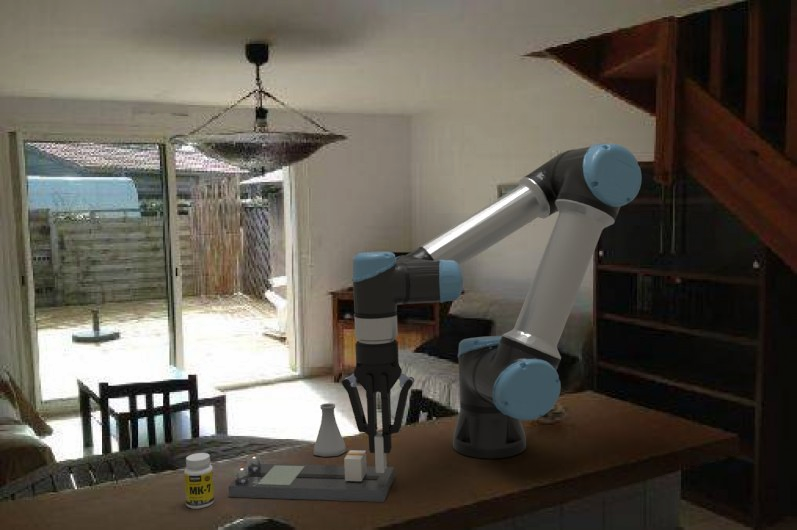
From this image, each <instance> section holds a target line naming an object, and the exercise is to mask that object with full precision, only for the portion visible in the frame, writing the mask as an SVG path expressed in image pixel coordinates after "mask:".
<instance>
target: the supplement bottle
mask: <svg viewBox="0 0 797 530" xmlns="http://www.w3.org/2000/svg"><path fill="white" fill-rule="evenodd" d="M185 463H186V464H185V465H186V468H185V469H184V488H185V489H184V490H185V492H184V493H185V505H186V506H187V507H188V508H189V509H190V508H191V509H194V510H195V509H197V510H198V509H203V508H206V507H209V506H211V505H213V503H214V502H215V488H214V486H215V485H214V469H213V466H212V465H211V456H210V454H209V453H206V452H198V453H197V452H196V453H192V454H189V455H188V456H186V458H185Z"/></svg>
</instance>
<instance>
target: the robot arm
mask: <svg viewBox="0 0 797 530" xmlns="http://www.w3.org/2000/svg"><path fill="white" fill-rule="evenodd" d="M642 180H643V179H642V170H641V166H639V163H638V160H637V158H636V156H635V155H634V153H633V152H632V151H630V150H629V149H628V148H627V147H625V146H623V145H621V144H617V143H603V142H602V143H596V144H594V145H592V146H587V147H582V148H581V147H580V148H576V149H575V148H574V149H573V148H572V149H569V150H566V151H564V152H561V153H559V154H557V155H555V156H553V157H552V158H551V159H549V160H548V161H546V162H545V163H542V165H540V166H539V167H537V168H536V169H535V170H532V171H531V172H530V173H528V174H526V175H525V176H523V177H522V178H521V179H520V180H519V181H518V182H519V183H518V186H516V187H515V188H513V189H512V190H510V191H508V192H506V193H505V194H503V195H502V196H501V197H499V198H497V199H496V200H493V201H492V202H491V203H489V204H487V205H486V206H484V207H482V208H481V209H479V210H478V211H475V212H474V213H473V214H471V215H470V216H468V217H466V218H464V219H463V220H461V221H459V222H458V223H456V224H454V225H453V226H452V227H450V228H448V229H446V230H445V231H443V232H442V233H440V234H438V235H437V236H435V237H434V238H432V239H430V240H429V241H427V242H425V243H423V244H422V245H420V247H418V248H416V249H413V250H412V251H410V252H409V253H407V254H405V255H399V256H396V254H395V253H394V252H391V251H370V252H369V251H367V252H359V253H357V254H356V255H354V257H353V261H352V287H353V288H352V289H353V305H354V307H353V309H354V337H355V339H356V340H357V341H356V342H355V344H354V345H355V367H354V369H353V373H352V374H351V375H349V376H346V377H345V378H344V379H343V380H342V381H341V385H342V386H343V388H344V389H345V391H346V392H347V395H348V399H349V403H350V406H351V410H352V413H353V416H354V419H355V424H356V427H357V431H358V432H359V433H365V434H367V436H368V450H369V453H370V454H374V458H375V459H374V461H375V462H374V463H375V467H376V473H384V472H385V470H386V468H387V467H388V466H387V465H388V464H387V454H390V453H391V450H392V449H393V447H392V444H393V443H392V434H397V433H399V431H400V430H401V428H402V424H403V421H404V420H403V418H404V415H405V410H406V405H407V401H408V397H409V391H410V389H411V388H412V386H413V384H414V382H415V378H414V377H413V376H408V375H406V374H405V373H403V371H402V367H401V366H400V363H399V342H398V341H397V339H396V338H397V337H399V336H398V335H399V332H398V308H397V307H398V305H406V304H407V305H408V304H409V305H410V304H425V303H426V304H428V303H429V304H430V303H441V304H443V303H444V302H445V303H446V302H450V301H452V302H453V301H456V300H458V299H459V298H460V296H461V294H462V292H463V283H464V280H463V277H464V276H463V272H462V268H461V266H463V265H464V264H465V263H467V262H469V261H470V260H472V259H473V258H475V257H477V256H478V255H480V254H481V253H483V252H484V251H486V250H488V249H490V248H492V247H493V246H494V245H495V244H498V243H499V242H501V241H502V240H504V239H506V238H507V237H509V236H510V235H512V234H513V233H515V232H517V231H518V230H520V229H521V228H523V227H524V226H526V225H528V224H529V223H531V222H533V221H534V220H536V219H538V218H539V219H546V218H548V217H550V216H552V215H554V214H555V213H558V215H557V218H556V220H555V223H554V226H553V228H552V231H551V233H550V235H549V239H548V241H547V244H546V246H545V248H544V250H543V254H542V257H541V259H540V262H539V264H538V267H537V269H536V271H535V274H534V277H533V279H532V282H531V284H530V287H529V290H528V292H527V294H526V297H525V299H524V302H523V304H522V307H521V308H520V309H521V310H520V312H519V314H518V316H517V320H516V322H515V325H514V327H513V329H511V330H510V331H507V332H505V333H503V334H502V335H491V336H478V337H470V338H464V339H462V340H461V341H460V342H459V343H458V353H457V359H458V377H459V379H458V381H459V406H460V407H459V409H460V410H459V413H458V416H457V420H456V424H455V426H454V431H453V434H452V446H453V447H452V448H453V449H454V450H455V451H456V452H457V453H458V454H462V455H463V456H467V457H470V458H479V459H503V458H509V457H510V458H511V457H513V456H517V455H519V454H521V453H522V452H524V451H525V450H526V449H527V436H526V433H525V430H524V426H523V424H522V421H533V420H536V419H539V418H541V417H543V416H545V415H546V414H547V413H549V412H550V411H551V410H553V409H552V408H554V406H555V405H556V404H557V402H558V400H559V398H560V394H561V390H562V389H561V388H562V387H561V380H560V378H559V377H560V375H559V374H558V372H557V370H558V367H559V365H560V363H561V359H562V356H561V354H560V352H559V350H558V344H559V341H560V340H561V336H562V334H563V331H564V329H565V326H566V323H567V321H568V318H569V316H570V313H571V311H572V308H573V306H574V303H575V301H576V298H577V295H578V293H579V290H580V288H581V286H582V284H583V280H584V279H585V275H586V272H587V270H588V268H589V265H590V262H591V259H592V257H593V256H594V253H595V249H596V247H597V245H598V242H599V240H600V237H601V234H602V232H603V230H604V229H606V228H608V227H609V226H612V225H614V224H615V221H616V219H617V216H618V214H619V211H620V209H621V207H623V206H625V205H627V204H629V203H630V202H632V201H633V200H634V199H635V198H636V197H637V195H638V194H639V191H640V189H641V185H642ZM398 380H399V383H398V385H399V387H400V388H401V389H400V392H399V396H398V401H397V405H396V411H395V415H394V420H393V423H392V412H391V411H392V407H391V406H392V405H391V404H392V403H391V392H392V391H391V390H392V389H393V387H394V386H395V384H396V383H397V381H398ZM358 382H359V384H360V386H361V387H362V388H363V389H364V390H365V398H366V412H367V418H366V415H365V412H364V408H363V403H362V400H361V397H360V394H359V391H358V387H357V386H358ZM377 393H380V403H381V404H380V405H381V407H380V408H381V427H382V429H381V431H378V429H379V427H378V415H377V414H378V412H377V411H378V410H377V407H378V406H377Z"/></svg>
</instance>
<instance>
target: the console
mask: <svg viewBox="0 0 797 530" xmlns="http://www.w3.org/2000/svg"><path fill="white" fill-rule="evenodd" d="M246 457H247V458H246V461H247V465H245V464H242V465H238V466H236V467H234V469H233V470H234V480H233V481H232V482H231V483H229V485H228V497H229V498H246V499H247V498H249V499H252V498H253V499H275V500H276V499H279V500H280V499H282V500H284V499H285V500H307V501H308V500H309V501H335V502H336V501H342V502H344V501H345V502H367V503H368V502H370V503H371V502H373V503H384V502H385V500H386V498H387V495H388V493H389V491H390V488H391V487H392V484H393V481H394V479H395V478H394V477H395V467H394V466H387V468H386V470H385V472H384V473H376V467H375V466H373V465H372V466H370V465H369V466H367V473H366V474H365V476H364V478H363V480H362V481H345V467H344V465H331V464H330V465H327V464H323V465H321V464H289V463H286V464H285V463H284V464H282V463H261V455H260V454H259V453H252V454H248V455H247V456H246Z"/></svg>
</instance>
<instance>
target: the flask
mask: <svg viewBox="0 0 797 530" xmlns="http://www.w3.org/2000/svg"><path fill="white" fill-rule="evenodd" d="M335 408H336V404H335V403H332V402H326V403H325V402H324V403H322V404H321V405H320V410H321V414H322V415H321V421H320V426H319V430H318V433H317V437H316V440H315V442H314V447H313V451H312V452H313V453H312V454H313V455H314V456H319V457H325V458H326V457H327V458H328V457H338V456H340V455H342V454H344V453H347V446H346V444H345V441H344V438H343V436H342V433H341V431H340V429H339V426H338V423H337V420H336V415H335Z"/></svg>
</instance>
